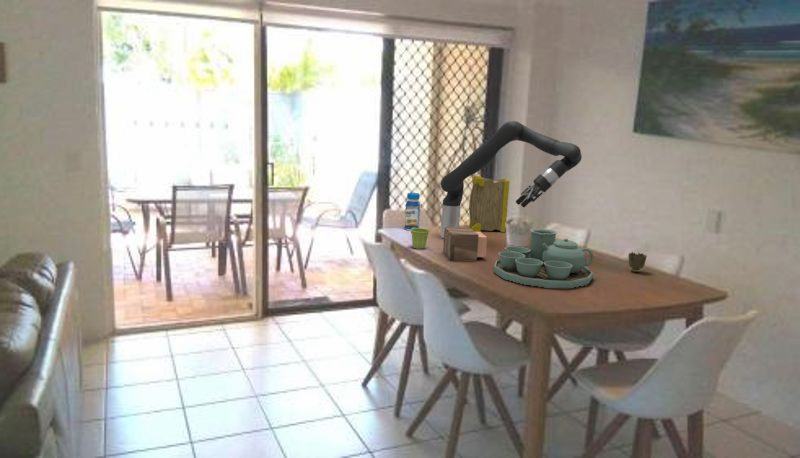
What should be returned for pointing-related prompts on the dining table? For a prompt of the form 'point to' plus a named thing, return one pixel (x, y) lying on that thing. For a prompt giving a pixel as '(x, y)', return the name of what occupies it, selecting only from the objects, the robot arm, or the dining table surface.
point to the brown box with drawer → (460, 244)
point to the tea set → (545, 262)
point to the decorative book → (488, 204)
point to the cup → (637, 261)
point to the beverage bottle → (412, 211)
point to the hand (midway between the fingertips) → (519, 204)
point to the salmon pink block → (481, 245)
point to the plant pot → (419, 237)
